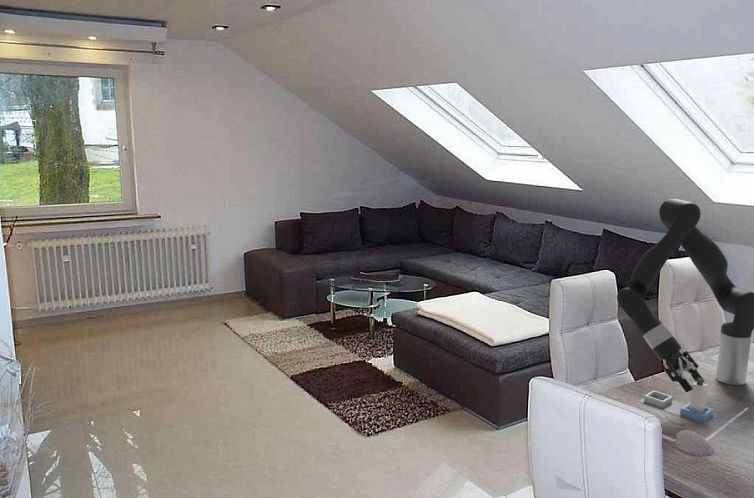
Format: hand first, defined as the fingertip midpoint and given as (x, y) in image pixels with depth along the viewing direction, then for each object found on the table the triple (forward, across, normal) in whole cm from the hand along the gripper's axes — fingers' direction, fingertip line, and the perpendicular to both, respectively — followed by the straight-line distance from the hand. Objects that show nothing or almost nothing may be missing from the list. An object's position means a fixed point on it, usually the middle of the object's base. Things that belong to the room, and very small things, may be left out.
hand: (695, 387), depth 189 cm
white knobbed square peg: (+7, 0, +5) cm, 9 cm away
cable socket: (+3, 0, +10) cm, 11 cm away
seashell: (+13, -19, +1) cm, 23 cm away
